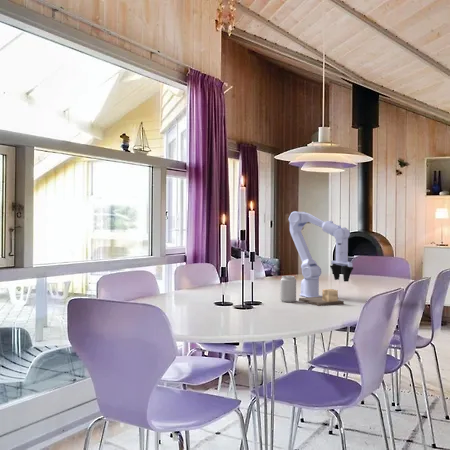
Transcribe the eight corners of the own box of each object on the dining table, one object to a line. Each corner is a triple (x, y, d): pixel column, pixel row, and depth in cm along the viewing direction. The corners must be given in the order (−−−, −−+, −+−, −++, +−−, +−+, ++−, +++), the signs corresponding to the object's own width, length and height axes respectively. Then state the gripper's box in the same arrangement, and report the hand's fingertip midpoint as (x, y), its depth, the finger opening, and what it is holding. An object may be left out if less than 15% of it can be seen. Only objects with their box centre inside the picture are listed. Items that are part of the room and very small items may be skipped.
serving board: (298, 300, 238) (299, 298, 238) (323, 298, 244) (323, 296, 244) (318, 305, 223) (318, 303, 223) (343, 303, 229) (343, 301, 229)
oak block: (322, 300, 232) (322, 289, 232) (331, 299, 234) (331, 288, 234) (328, 301, 228) (328, 290, 228) (337, 301, 230) (337, 290, 229)
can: (283, 302, 231) (284, 277, 231) (277, 300, 238) (278, 275, 238) (298, 302, 233) (298, 276, 233) (292, 299, 240) (292, 275, 240)
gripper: (357, 253, 236) (357, 281, 236) (339, 251, 249) (339, 278, 249) (345, 253, 233) (345, 282, 233) (327, 251, 247) (327, 279, 247)
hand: (341, 280), depth 241 cm, fingers open, 7 cm apart
